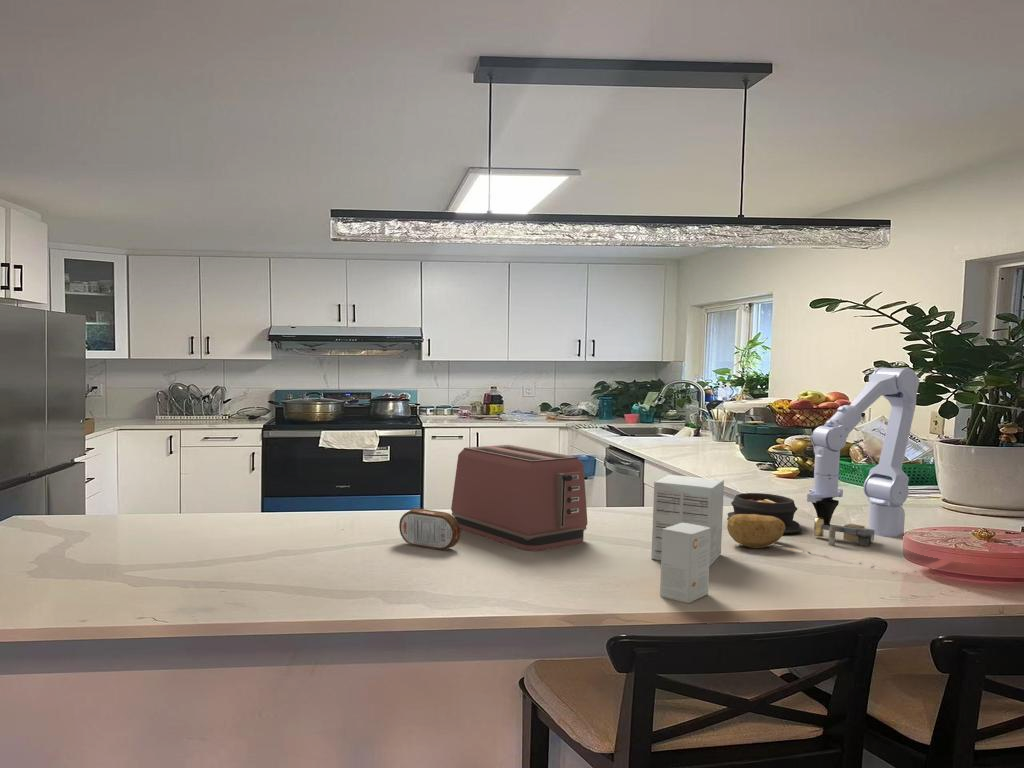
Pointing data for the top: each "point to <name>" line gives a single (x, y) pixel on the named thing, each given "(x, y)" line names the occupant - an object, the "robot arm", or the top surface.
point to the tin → (429, 529)
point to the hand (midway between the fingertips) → (823, 527)
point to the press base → (861, 540)
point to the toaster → (520, 496)
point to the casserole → (767, 508)
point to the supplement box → (688, 508)
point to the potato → (755, 529)
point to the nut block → (852, 536)
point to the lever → (841, 529)
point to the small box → (685, 562)
